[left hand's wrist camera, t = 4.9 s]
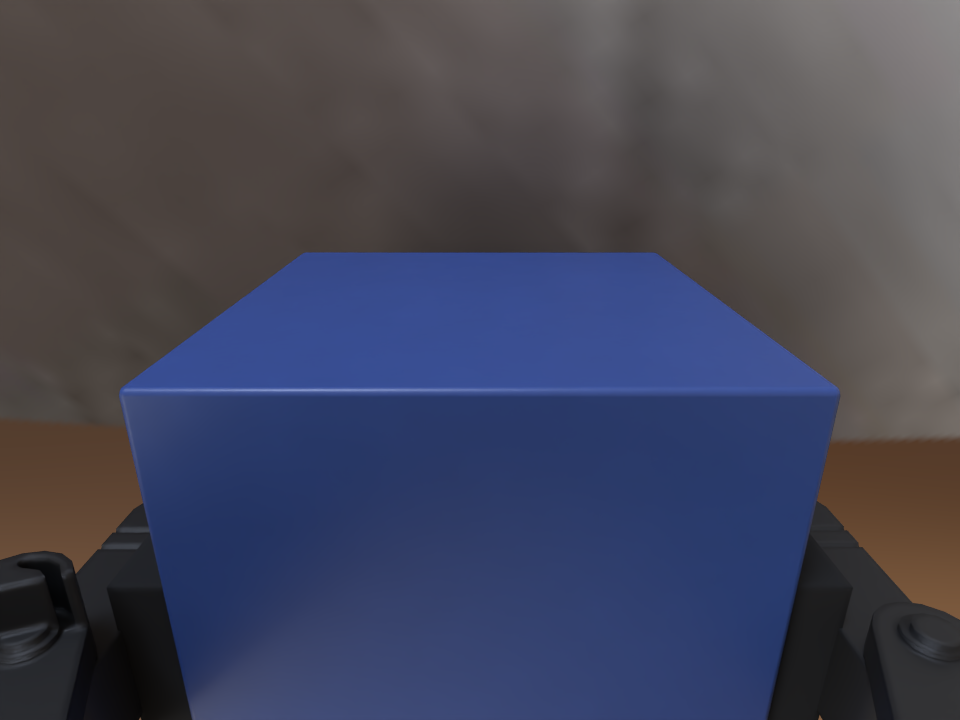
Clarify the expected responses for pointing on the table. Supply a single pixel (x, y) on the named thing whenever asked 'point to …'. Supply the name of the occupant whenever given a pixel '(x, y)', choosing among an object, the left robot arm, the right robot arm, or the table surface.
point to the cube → (479, 492)
